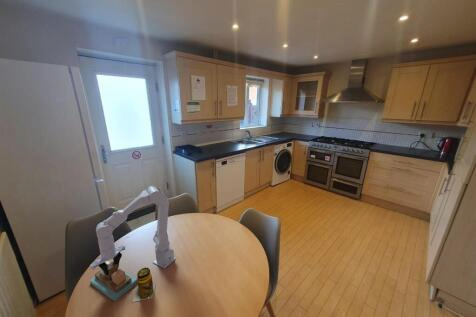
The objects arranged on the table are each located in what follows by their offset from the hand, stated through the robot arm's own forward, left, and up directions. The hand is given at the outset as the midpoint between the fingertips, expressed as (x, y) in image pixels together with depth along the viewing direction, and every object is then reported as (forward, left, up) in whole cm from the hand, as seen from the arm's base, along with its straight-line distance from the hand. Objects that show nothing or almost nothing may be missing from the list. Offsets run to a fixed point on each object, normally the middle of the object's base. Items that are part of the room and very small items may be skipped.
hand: (111, 270), depth 91 cm
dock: (0, 0, -7) cm, 7 cm away
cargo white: (+6, 0, -3) cm, 6 cm away
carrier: (0, 0, -5) cm, 5 cm away
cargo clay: (-5, 0, -3) cm, 6 cm away
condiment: (-18, -4, -7) cm, 20 cm away
